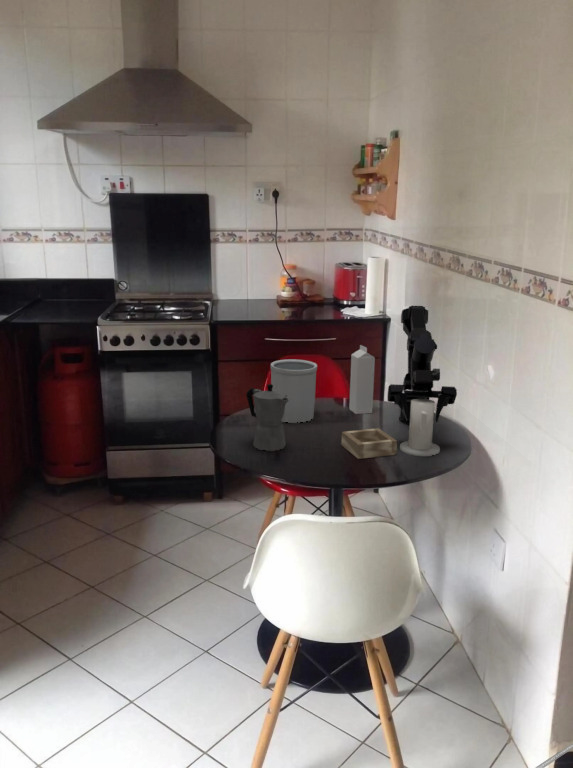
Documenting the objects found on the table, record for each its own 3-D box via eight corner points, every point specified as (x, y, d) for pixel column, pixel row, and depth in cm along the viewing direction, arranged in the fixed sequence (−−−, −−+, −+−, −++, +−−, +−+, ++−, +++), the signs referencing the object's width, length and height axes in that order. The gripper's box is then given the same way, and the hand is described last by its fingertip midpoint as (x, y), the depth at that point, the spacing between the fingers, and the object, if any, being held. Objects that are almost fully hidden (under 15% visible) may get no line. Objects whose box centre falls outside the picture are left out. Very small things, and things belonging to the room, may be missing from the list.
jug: (407, 442, 191) (410, 398, 188) (430, 443, 191) (433, 399, 188) (410, 452, 182) (413, 406, 179) (433, 454, 182) (437, 407, 179)
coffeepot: (298, 447, 189) (299, 385, 184) (275, 455, 182) (276, 391, 177) (258, 435, 198) (258, 376, 194) (235, 442, 191) (235, 381, 187)
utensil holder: (325, 417, 216) (326, 364, 212) (293, 427, 206) (294, 371, 202) (292, 407, 226) (293, 357, 222) (260, 416, 216) (260, 363, 212)
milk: (355, 414, 220) (357, 348, 215) (349, 409, 226) (351, 345, 220) (372, 413, 222) (375, 347, 216) (365, 407, 227) (368, 344, 222)
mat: (426, 441, 195) (427, 438, 195) (447, 454, 185) (447, 451, 185) (392, 445, 191) (393, 442, 191) (412, 458, 181) (412, 455, 181)
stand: (377, 441, 194) (378, 428, 193) (396, 454, 184) (396, 440, 183) (341, 445, 191) (341, 431, 190) (358, 458, 180) (358, 444, 179)
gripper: (390, 356, 186) (390, 405, 178) (458, 358, 185) (461, 408, 177) (387, 377, 196) (387, 424, 188) (452, 379, 194) (454, 427, 186)
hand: (422, 421), depth 185 cm, fingers open, 8 cm apart
